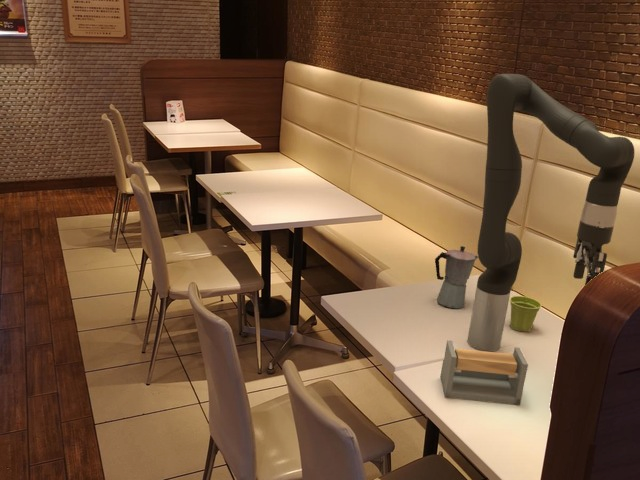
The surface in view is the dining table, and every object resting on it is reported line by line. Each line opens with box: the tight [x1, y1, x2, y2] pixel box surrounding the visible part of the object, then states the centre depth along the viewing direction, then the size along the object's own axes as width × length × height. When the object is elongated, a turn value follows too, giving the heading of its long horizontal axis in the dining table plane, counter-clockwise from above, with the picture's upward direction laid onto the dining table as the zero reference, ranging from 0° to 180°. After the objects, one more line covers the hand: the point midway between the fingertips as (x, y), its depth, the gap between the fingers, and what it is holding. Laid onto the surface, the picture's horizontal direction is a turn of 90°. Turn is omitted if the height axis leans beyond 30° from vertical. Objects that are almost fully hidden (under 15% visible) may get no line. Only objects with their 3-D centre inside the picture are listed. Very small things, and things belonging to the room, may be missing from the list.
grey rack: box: [439, 340, 529, 406], centre depth 156 cm, size 10×18×11 cm, turn 87°
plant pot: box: [509, 295, 543, 332], centre depth 194 cm, size 9×9×9 cm
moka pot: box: [434, 245, 479, 309], centre depth 205 cm, size 10×15×20 cm, turn 112°
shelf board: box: [454, 348, 517, 375], centre depth 154 cm, size 5×14×3 cm, turn 87°
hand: (583, 284), depth 155 cm, fingers open, 8 cm apart
